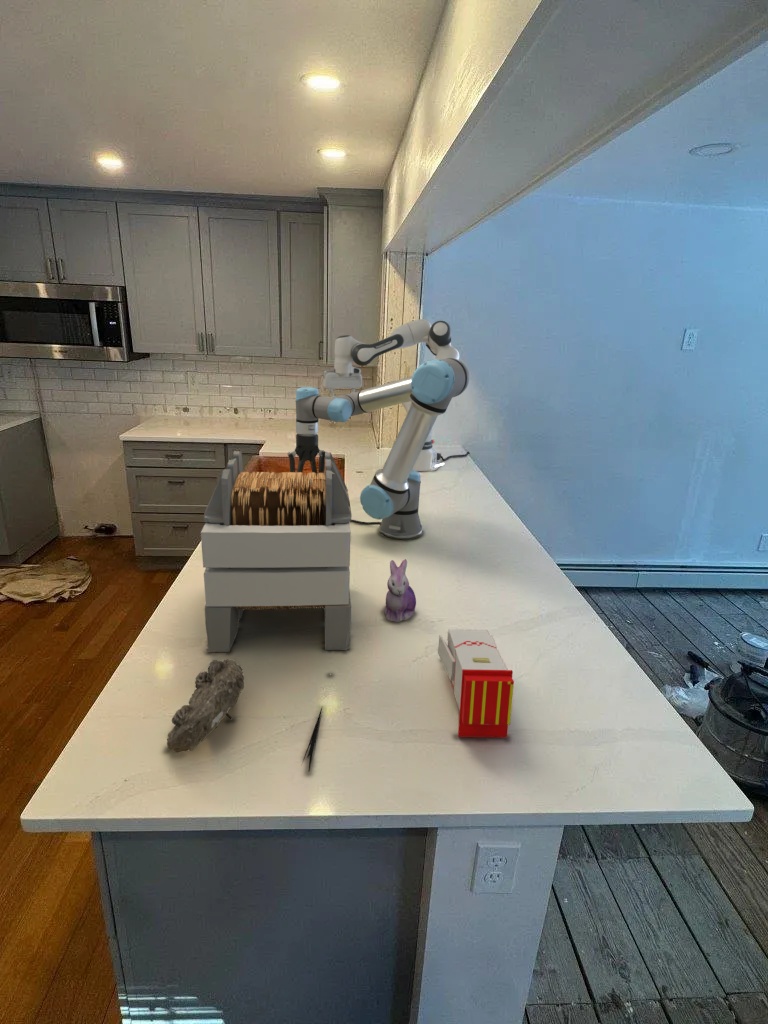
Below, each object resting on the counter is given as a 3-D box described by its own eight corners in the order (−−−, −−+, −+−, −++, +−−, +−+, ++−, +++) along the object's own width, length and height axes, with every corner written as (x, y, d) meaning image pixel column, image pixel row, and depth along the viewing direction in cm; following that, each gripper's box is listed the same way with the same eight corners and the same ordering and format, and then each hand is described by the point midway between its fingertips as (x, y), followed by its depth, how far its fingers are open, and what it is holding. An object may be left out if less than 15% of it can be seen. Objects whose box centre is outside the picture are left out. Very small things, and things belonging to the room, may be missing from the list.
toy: (488, 613, 130) (523, 677, 101) (484, 667, 133) (517, 744, 104) (435, 612, 130) (455, 676, 101) (432, 666, 133) (451, 743, 103)
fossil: (192, 660, 117) (244, 628, 112) (224, 691, 120) (276, 661, 115) (142, 746, 98) (202, 712, 93) (182, 779, 101) (242, 748, 96)
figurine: (392, 627, 141) (395, 572, 136) (374, 608, 149) (376, 556, 144) (425, 619, 145) (429, 566, 140) (405, 601, 154) (408, 550, 149)
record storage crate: (227, 584, 158) (219, 441, 145) (344, 583, 162) (347, 443, 148) (205, 654, 127) (191, 480, 113) (351, 650, 130) (355, 481, 117)
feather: (331, 679, 122) (336, 673, 122) (307, 777, 96) (313, 769, 95) (324, 675, 122) (329, 669, 121) (298, 772, 95) (304, 764, 95)
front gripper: (285, 437, 186) (286, 504, 194) (334, 435, 193) (333, 500, 201) (279, 432, 193) (280, 497, 201) (327, 430, 199) (326, 493, 207)
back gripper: (325, 370, 275) (325, 398, 280) (364, 369, 283) (363, 397, 288) (321, 368, 280) (320, 396, 285) (359, 368, 289) (358, 395, 293)
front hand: (307, 498), depth 201 cm, fingers closed on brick, 4 cm apart
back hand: (342, 397), depth 287 cm, fingers open, 8 cm apart
